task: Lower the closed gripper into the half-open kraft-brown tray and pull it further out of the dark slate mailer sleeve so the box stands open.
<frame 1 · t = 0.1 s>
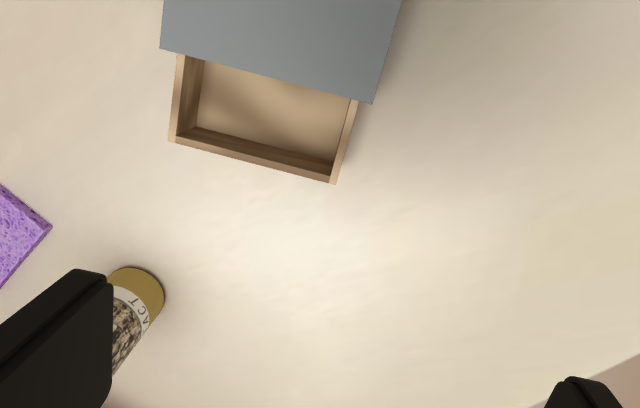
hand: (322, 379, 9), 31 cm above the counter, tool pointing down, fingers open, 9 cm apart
paper tube: (138, 290, 46), on the counter
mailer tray: (281, 41, 32), point 3 cm above the counter, slide at 7.0 cm
sponges: (2, 237, 46), on the counter
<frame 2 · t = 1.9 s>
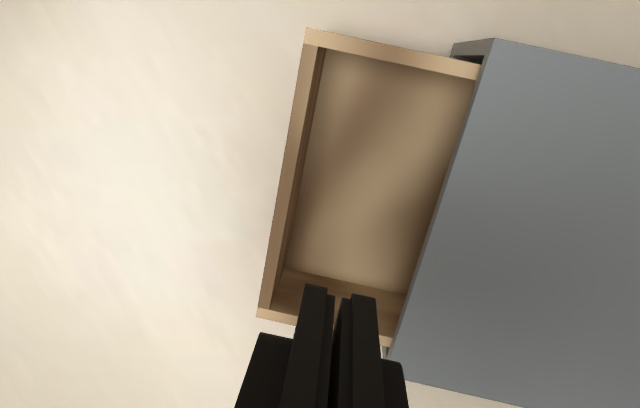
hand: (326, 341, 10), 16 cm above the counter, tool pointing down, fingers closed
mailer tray: (467, 215, 21), point 3 cm above the counter, slide at 7.0 cm
mailer sleeve: (578, 222, 24), on the counter
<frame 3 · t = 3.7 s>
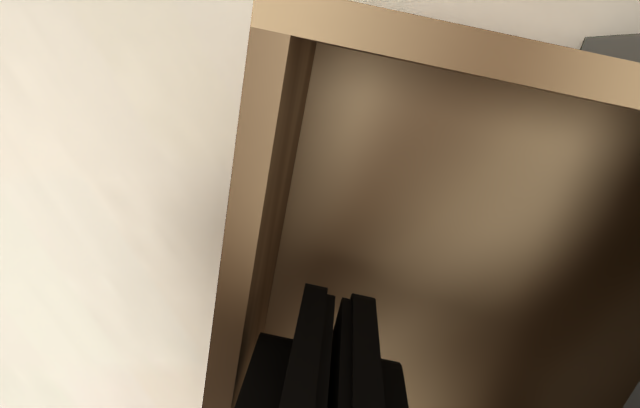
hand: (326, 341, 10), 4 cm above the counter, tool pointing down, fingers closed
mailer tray: (598, 375, 11), point 3 cm above the counter, slide at 7.6 cm, touching gripper
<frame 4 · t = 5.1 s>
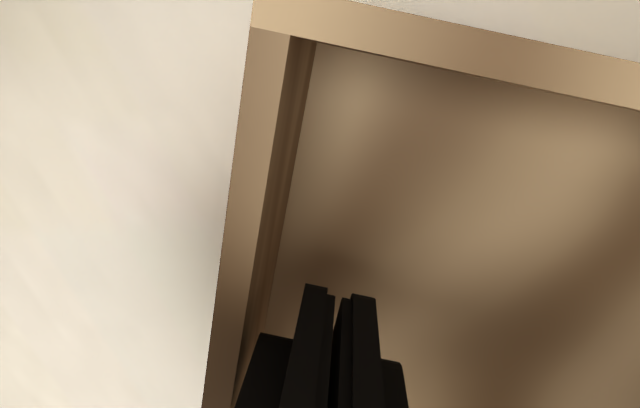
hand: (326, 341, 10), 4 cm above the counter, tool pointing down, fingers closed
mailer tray: (598, 376, 11), point 3 cm above the counter, slide at 14.9 cm, touching gripper
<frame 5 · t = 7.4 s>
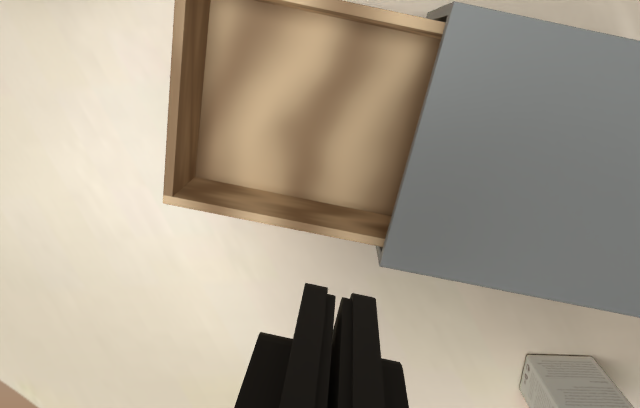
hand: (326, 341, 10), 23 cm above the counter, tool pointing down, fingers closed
skincare box: (553, 370, 38), on the counter
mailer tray: (324, 121, 27), point 3 cm above the counter, slide at 14.9 cm
mailer sleeve: (526, 154, 31), on the counter
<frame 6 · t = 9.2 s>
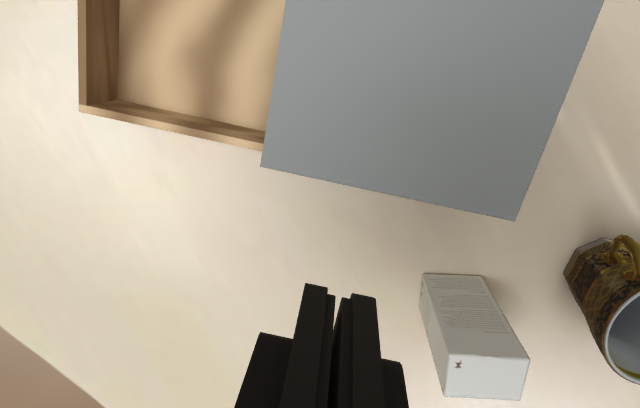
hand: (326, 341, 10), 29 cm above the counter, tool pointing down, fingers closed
skincare box: (449, 290, 42), on the counter
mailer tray: (217, 43, 32), point 3 cm above the counter, slide at 14.9 cm
ceramic cup: (593, 256, 40), on the counter
mailer sleeve: (404, 81, 35), on the counter
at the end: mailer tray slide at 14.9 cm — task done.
